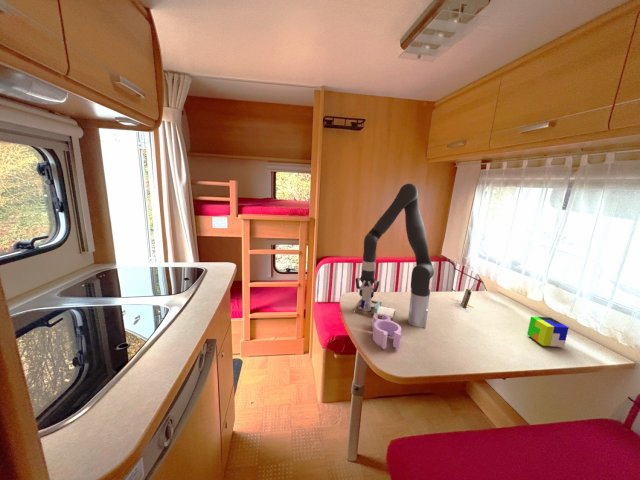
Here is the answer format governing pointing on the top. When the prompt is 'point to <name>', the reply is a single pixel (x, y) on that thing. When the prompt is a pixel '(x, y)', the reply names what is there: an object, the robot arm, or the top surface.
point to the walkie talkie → (466, 298)
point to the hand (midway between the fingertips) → (366, 296)
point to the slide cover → (383, 310)
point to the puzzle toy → (547, 331)
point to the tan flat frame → (371, 311)
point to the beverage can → (366, 299)
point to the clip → (385, 331)
